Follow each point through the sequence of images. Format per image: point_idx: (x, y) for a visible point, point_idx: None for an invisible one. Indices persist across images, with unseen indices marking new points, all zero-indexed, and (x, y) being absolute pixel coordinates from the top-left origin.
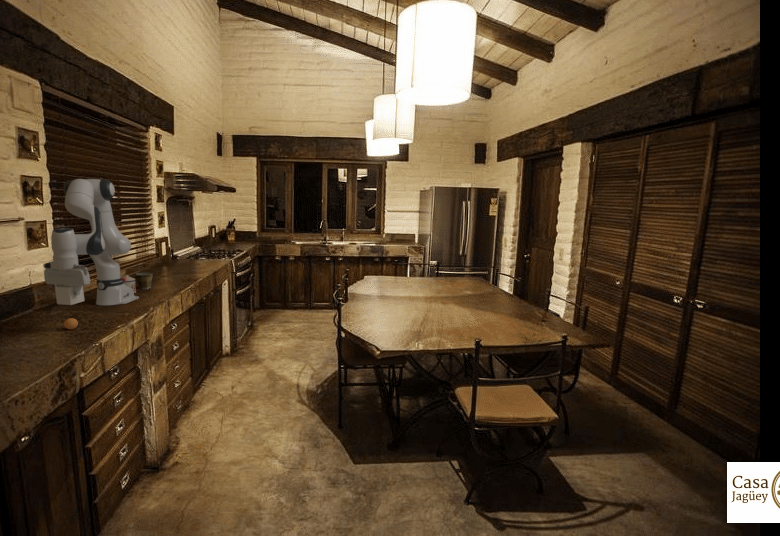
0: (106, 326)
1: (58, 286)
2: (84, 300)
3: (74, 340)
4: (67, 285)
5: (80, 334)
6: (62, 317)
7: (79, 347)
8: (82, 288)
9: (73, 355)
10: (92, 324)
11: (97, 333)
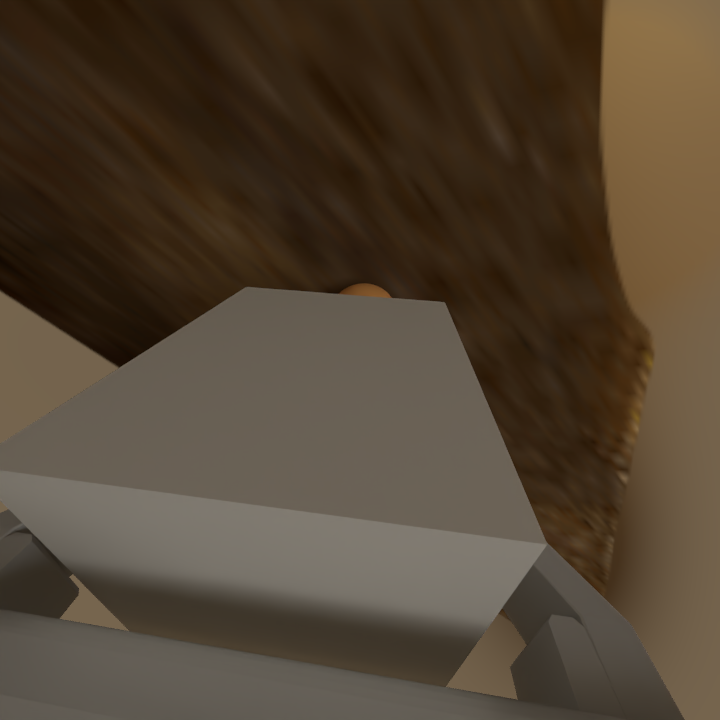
0: (548, 220)
1: (135, 629)
2: (445, 305)
3: (510, 447)
4: (194, 595)
5: (481, 380)
6: (38, 40)
7: (580, 503)
8: (492, 436)
9: (600, 551)
10: (417, 191)
11: (563, 358)
